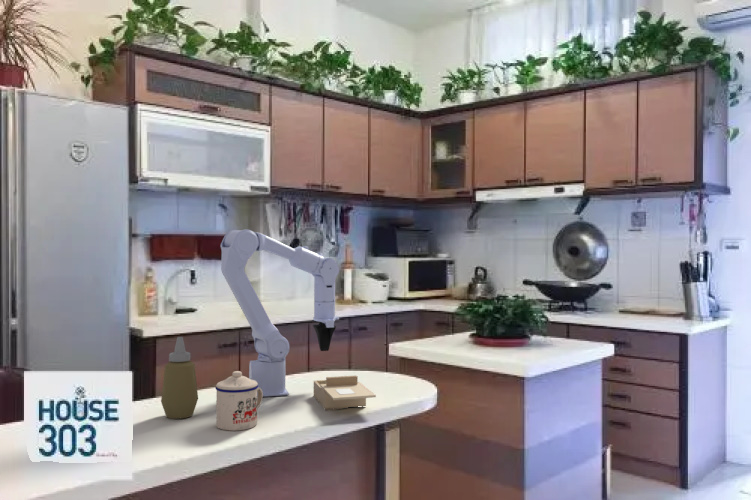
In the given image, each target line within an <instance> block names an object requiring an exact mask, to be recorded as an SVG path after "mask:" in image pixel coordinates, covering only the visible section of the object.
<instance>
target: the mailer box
mask: <svg viewBox="0 0 751 500" xmlns="http://www.w3.org/2000/svg"><path fill="white" fill-rule="evenodd" d="M320 384H326V379H321V380H313V398H315V400H316V401H317V402H318V403H319V404H320V405H321V407H322V408H323V409H324V410H325V411H331V410H343V409H342V408H347V409H349V408H348V407H358V406H366V407H367V398H358V399H343V400H333V399H332V398H331V397H330V396H329V395H328V394H327V393H326V392H325V391H324V390H323V389H322V388H321V387H320Z"/></svg>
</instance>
